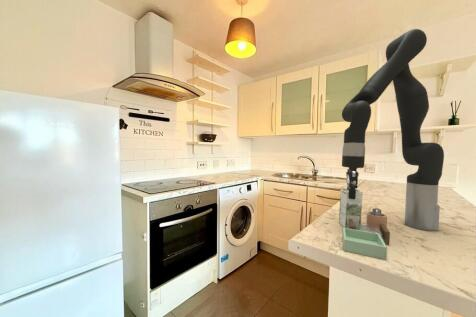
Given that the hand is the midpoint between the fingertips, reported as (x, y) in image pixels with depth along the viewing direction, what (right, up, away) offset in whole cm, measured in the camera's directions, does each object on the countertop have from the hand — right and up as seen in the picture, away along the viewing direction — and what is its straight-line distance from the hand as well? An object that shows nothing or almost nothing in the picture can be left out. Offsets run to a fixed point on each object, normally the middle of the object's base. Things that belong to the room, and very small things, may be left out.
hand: (350, 196), depth 77 cm
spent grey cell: (+8, -12, -2) cm, 15 cm away
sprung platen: (+1, -10, -9) cm, 13 cm away
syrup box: (0, -12, +1) cm, 12 cm away
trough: (-6, -12, -16) cm, 21 cm away
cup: (+8, -12, -2) cm, 15 cm away
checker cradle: (+1, -12, -9) cm, 15 cm away
